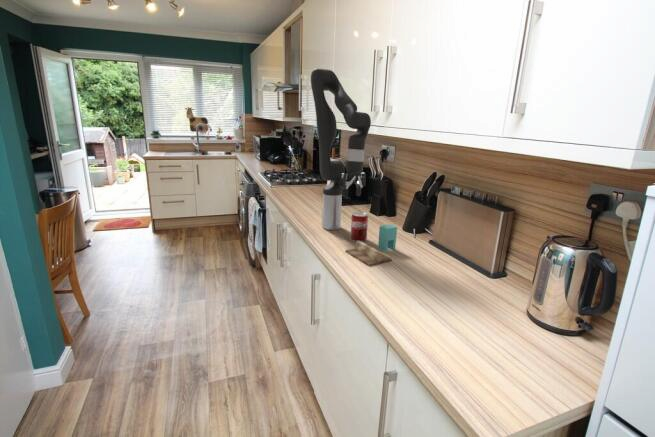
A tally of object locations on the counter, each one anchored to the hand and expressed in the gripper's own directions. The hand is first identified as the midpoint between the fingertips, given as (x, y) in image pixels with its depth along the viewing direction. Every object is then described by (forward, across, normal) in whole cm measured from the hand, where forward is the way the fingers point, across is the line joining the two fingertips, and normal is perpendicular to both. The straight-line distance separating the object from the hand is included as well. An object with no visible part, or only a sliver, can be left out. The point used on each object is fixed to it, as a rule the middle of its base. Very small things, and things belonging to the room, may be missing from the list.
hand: (351, 196), depth 154 cm
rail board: (+20, +9, +20) cm, 30 cm away
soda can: (+20, -3, +4) cm, 20 cm away
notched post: (+19, -3, +20) cm, 28 cm away
